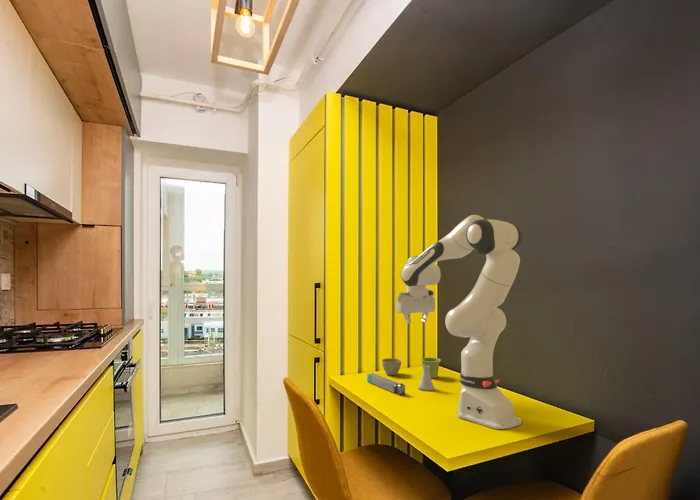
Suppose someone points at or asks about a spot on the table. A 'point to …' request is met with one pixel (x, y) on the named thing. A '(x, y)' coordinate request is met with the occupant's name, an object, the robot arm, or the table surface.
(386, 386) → the upper tong arm
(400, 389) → the tong pivot
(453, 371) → the table surface
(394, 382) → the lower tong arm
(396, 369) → the flower pot
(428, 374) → the flask
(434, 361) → the plant pot
